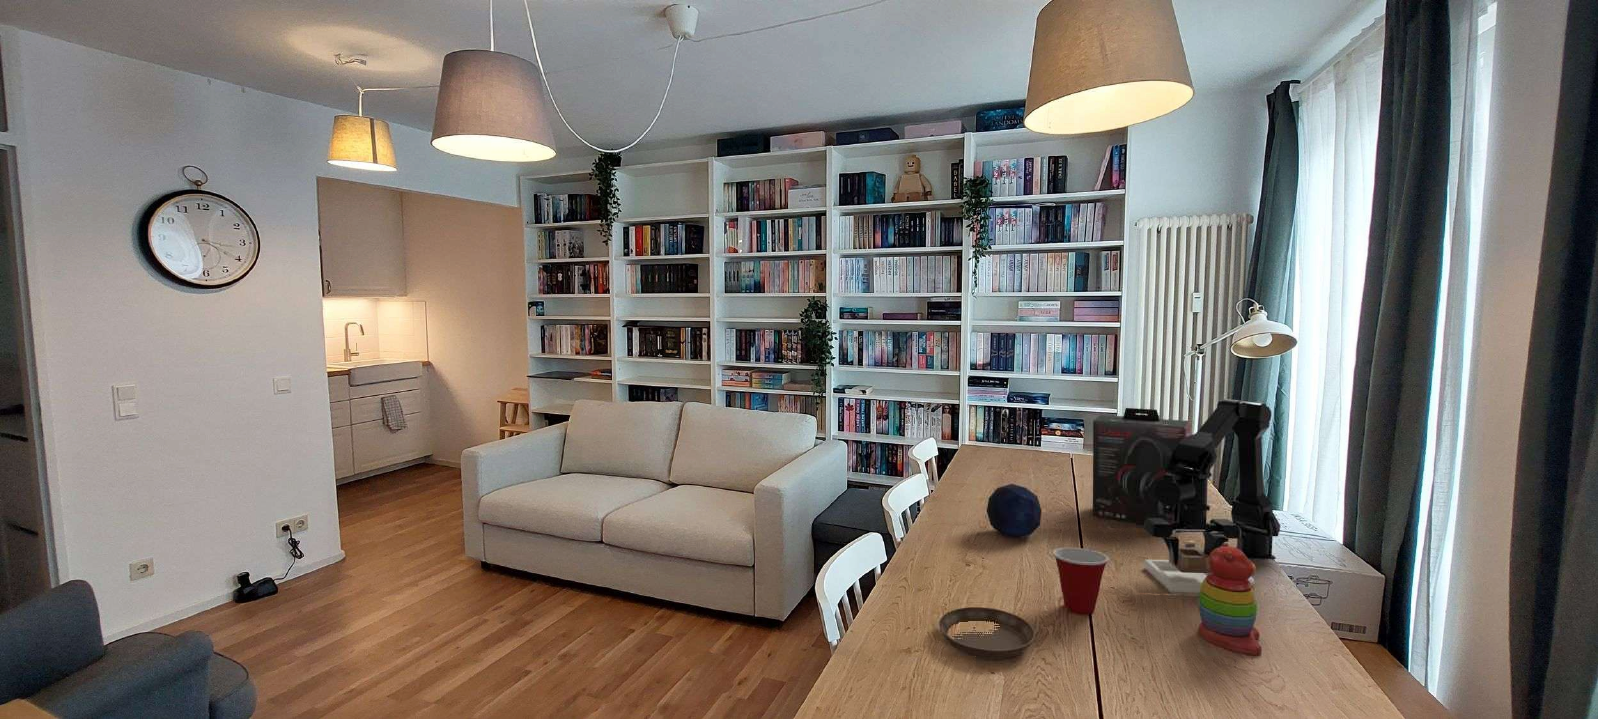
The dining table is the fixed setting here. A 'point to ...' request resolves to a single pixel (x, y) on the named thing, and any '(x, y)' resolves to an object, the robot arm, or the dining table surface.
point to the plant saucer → (998, 645)
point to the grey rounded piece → (1189, 544)
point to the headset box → (1132, 463)
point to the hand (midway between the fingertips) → (1190, 564)
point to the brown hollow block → (1192, 560)
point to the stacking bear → (1229, 602)
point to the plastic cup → (1080, 577)
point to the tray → (1175, 577)
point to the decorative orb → (1014, 511)
